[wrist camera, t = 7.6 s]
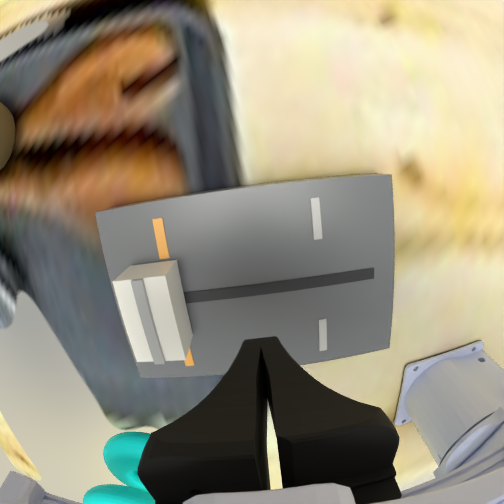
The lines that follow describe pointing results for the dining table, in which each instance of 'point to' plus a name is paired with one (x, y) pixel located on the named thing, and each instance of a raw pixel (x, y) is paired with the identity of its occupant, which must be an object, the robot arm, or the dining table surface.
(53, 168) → the dining table surface
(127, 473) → the donuts
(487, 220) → the dining table surface
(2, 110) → the squeeze bottle
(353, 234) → the console
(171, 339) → the fader
